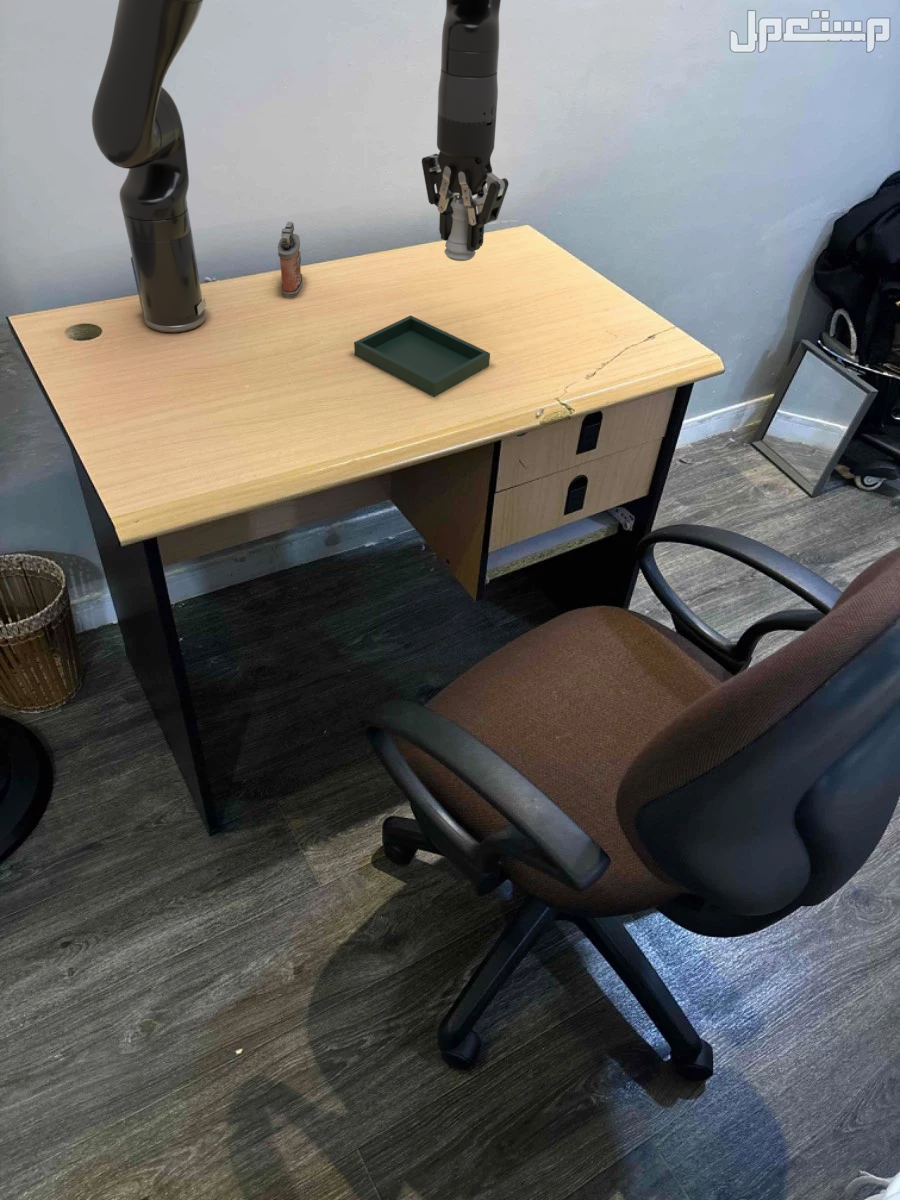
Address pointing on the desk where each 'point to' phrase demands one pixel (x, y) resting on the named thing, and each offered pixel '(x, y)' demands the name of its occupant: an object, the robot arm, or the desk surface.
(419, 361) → the tray
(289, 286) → the lighter
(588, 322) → the desk surface
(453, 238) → the rook chess piece
